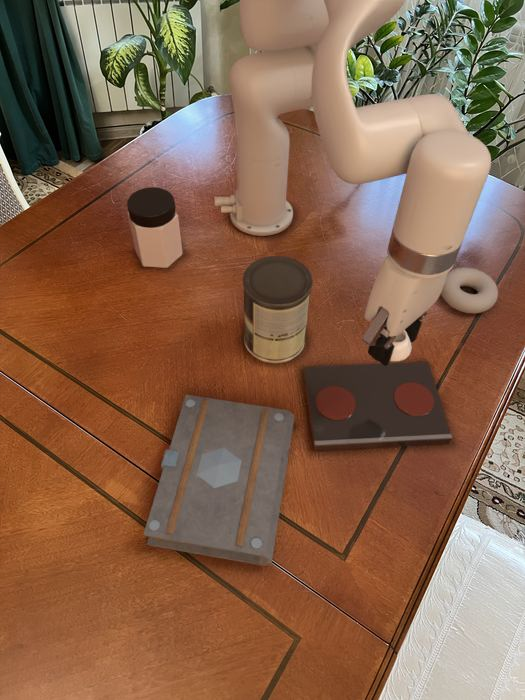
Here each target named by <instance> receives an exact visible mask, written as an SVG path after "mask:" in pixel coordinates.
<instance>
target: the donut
mask: <svg viewBox="0 0 525 700" xmlns="http://www.w3.org/2000/svg"><path fill="white" fill-rule="evenodd" d="M497 286H498V285H497V284H496V282H495V281H494V280H493V278H492V277H491V276H490V275H488V274H487V273H486V272H484V271H481V270H479V269H477V268H473V267H458V268H452V269H451V270H450V271H449V272H448V275H447V278H446V281H445V284H444V286H443V289H442V291H441V294H440V296H441V297H442V299H443V301H444V302H445V303H446V304H447V305H449V306H450V307H451V308H453V309H454V310H456V311H459V312H462V313H465V314H480V313H485V312H487V311H488V310H490V309H492V308H493V307H494V305H495V304H496V302H497V301H498V298H499V290H498V287H497ZM461 287H468V288H471V289H473V290H474V291H476V293H475V294H473V293H468V292H465V291H464V290H463V289H462V288H461Z"/></svg>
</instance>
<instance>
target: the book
mask: <svg viewBox="0 0 525 700" xmlns="http://www.w3.org/2000/svg"><path fill="white" fill-rule="evenodd" d="M295 417H296V416H295V415H294V414H293V413H292V412H291V411H290V410H288V409H282V408H277V407H269V406H262V405H256V404H249V403H244V402H243V403H242V402H237V401H230V400H224V399H217V398H210V397H204V396H197V395H192V394H185V396H184V399H183V402H182V406H181V409H180V413H179V416H178V419H177V422H176V425H175V430H174V432H173V436H172V439H171V443H170V445H169V449H165V450H164V454H163V457H162V460H161V464H160V467H161V471H162V472H161V476H160V478H159V482H158V485H157V489H156V491H155V495H154V499H153V502H152V504H151V507H150V511H149V515H148V518H147V522H146V525H145V528H144V532H143V537H148V538H147V542H146V546H150V547H157V548H160V549H161V548H163V549H169V550H173V551H178V552H184V553H189V554H196V555H202V556H206V557H212V558H217V559H223V560H228V561H234V562H238V563H239V562H240V563H246V564H250V565H257V566H262V567H267V566H268V565H272V563H273V557H274V552H275V545H276V538H277V532H278V527H279V526H278V525H279V519H280V514H281V506H282V501H283V493H284V487H285V482H286V476H287V475H286V474H287V468H288V462H289V456H290V450H291V444H292V437H293V431H294V430H293V429H294V425H295V419H296V418H295Z"/></svg>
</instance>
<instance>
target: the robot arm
mask: <svg viewBox="0 0 525 700" xmlns="http://www.w3.org/2000/svg"><path fill="white" fill-rule="evenodd" d="M405 2H406V0H239V26H240V28H239V29H240V33H241V37H242V40H243V42H244V44H245V45H246V47H248V48H249V49H251V50H254V51H257V52H253V53H251V54H247V55H245V56H242V57H240V58H239V59H238V60H236V61H235V62H234V64H233V65H232V67H231V68H230V71H229V76H228V77H229V78H228V79H229V80H228V82H229V91H230V96H231V97H230V98H231V101H232V106H233V113H234V121H235V138H236V139H235V140H236V142H235V143H236V145H235V147H236V187H237V188H236V189H235V191H234V194H230V196H224V195H223V196H214V197H213V199H214V207H217V208H219V207H220V213H221V214H229V217H230V221H231V223H232V224H233V226H234V227H235V228H237V229H238V230H239V231H241V232H242V233H245V234H248V235H251V236H258V237H267V236H273V235H276V234H279V233H282V232H283V231H285V230H286V229H287V228H289V227H290V225H291V224H292V222H293V218H294V209H293V206H292V205H291V203H290V202H289V201H288V200H287V191H288V176H289V175H288V174H289V162H290V161H289V159H290V142H291V140H290V133H289V130H288V128H287V126H286V125H285V123H284V122H283V121H282V120H281V118H280V117H279V116H281V115H283V114H287V113H290V112H295V111H300V110H305V109H311V108H312V110H313V115H314V120H315V122H316V126H317V129H318V133H319V136H320V140H321V144H322V146H323V149H324V153H325V156H326V158H327V160H328V163H329V165H330V168H331V169H332V170H333V172H334V173H335V175H336V176H337V177H338V178H339V179H340V180H341V181H343V182H345V183H348V184H351V185H363V184H368V183H373V182H377V181H382V180H385V179H390V178H394V177H399V176H403V175H405V178H404V182H403V186H402V190H401V194H400V198H399V203H398V206H397V210H396V214H395V217H394V221H393V225H392V230H391V233H390V236H389V242H388V245H387V250H386V252H387V256H386V257H385V258H384V260H383V262H382V264H381V266H380V268H379V270H378V272H377V275H376V277H375V280H374V281H373V282H374V283H373V284H372V288H371V290H370V293H369V296H368V300H367V302H366V307H365V311H364V314H363V316H364V318H363V319H364V320H365V321H366V322H367V323H370V324H369V326H368V328H367V329H366V331H365V333H364V334H363V336H362V338H361V341H362V342H364V343H365V344H366V345H368V350H367V353H368V355H369V356H371V358H372V360H374V361H376V362H379V364H383V365H384V366H387V365H388V364H389V363H391V361H390V359H391V356H392V353H393V350H394V347H395V346H394V345H393V342H394V340H395V338H396V336H397V335H398V334H400V333H401V332H402V331H403V330H405V331H406V332H407V335H408V337H409V339H410V342H411V343H414V342H415V341H416V340H417V338H418V335H419V332H420V329H421V328H422V324H423V321H422V320H424V319H425V318H426V316H427V313H428V310H429V309H430V308H431V307H432V306H434V304H436V302H437V301H438V299H439V298H440V296H441V291H442V289H443V286H444V284H445V281H446V278H447V275H448V272H450V271H452V270H453V268H454V266H455V263H456V260H457V258H458V255H459V253H460V250H461V247H462V244H463V242H464V239H465V236H466V234H467V231H468V228H469V226H470V224H471V221H472V219H473V215H474V213H475V211H476V208H477V206H478V202H479V200H480V197H481V195H482V193H483V191H484V187H485V184H486V183H487V179H488V176H489V173H490V171H491V168H492V167H491V166H492V156H491V153H490V151H489V149H488V147H487V146H486V144H484V142H482V141H481V140H480V139H478V138H477V137H475V136H474V135H471V134H470V133H469V131H468V130H467V127H466V126H465V123H464V122H463V120H462V118H461V117H460V114H459V112H458V111H457V109H456V107H455V105H453V103H452V102H451V101H450V100H449V98H447V97H445V96H443V95H441V94H437V93H427V94H421V95H415V96H409V97H406V98H400V99H394V100H388V101H382V102H378V103H372V104H367V105H363V106H358V107H356V105H355V102H354V98H353V95H352V92H351V88H350V85H349V79H348V74H347V73H348V72H347V70H348V69H347V60H348V54H349V51H350V50H351V49H353V47H355V46H356V45H358V43H360V42H361V41H363V40H364V39H366V38H367V37H368V36H370V35H371V34H373V33H375V32H376V31H377V30H378V29H381V28H382V27H383V26H384V25H385V24H387V23H388V22H389V21H391V20H392V19H393V17H394V16H396V14H397V13H398V12H399V11H400V10H401V8H402V7H403V6H404V3H405ZM383 330H387V331H388V332H389V333H388V334H389V336H388V338H387V337H386V336H384V335H383V334H382V333H381V332H382V331H383Z"/></svg>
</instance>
